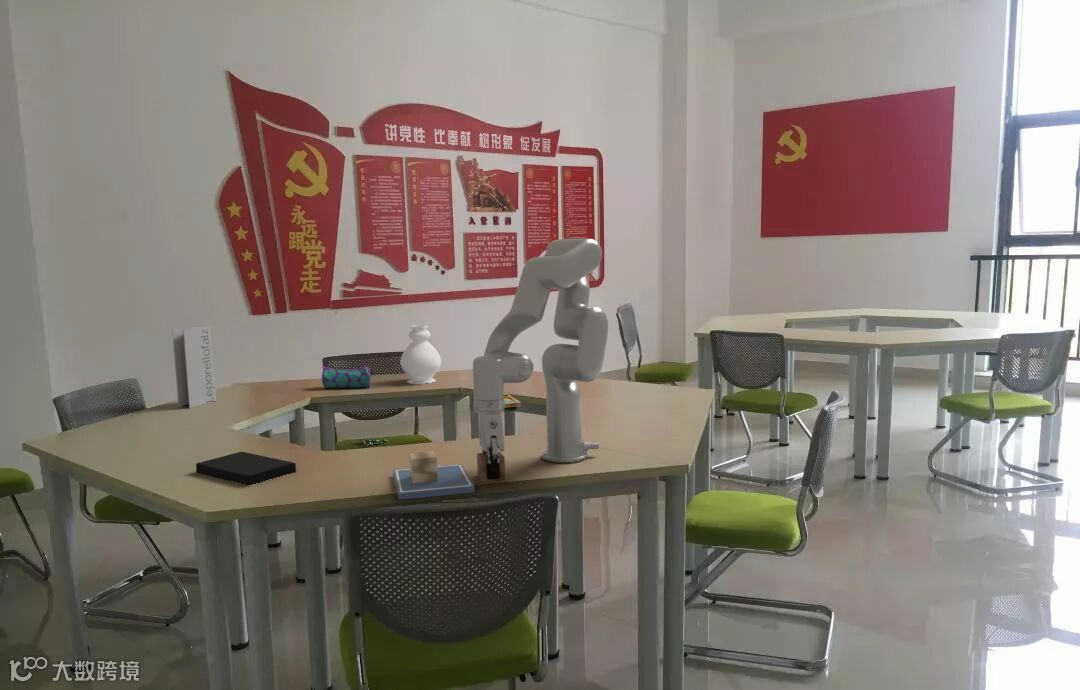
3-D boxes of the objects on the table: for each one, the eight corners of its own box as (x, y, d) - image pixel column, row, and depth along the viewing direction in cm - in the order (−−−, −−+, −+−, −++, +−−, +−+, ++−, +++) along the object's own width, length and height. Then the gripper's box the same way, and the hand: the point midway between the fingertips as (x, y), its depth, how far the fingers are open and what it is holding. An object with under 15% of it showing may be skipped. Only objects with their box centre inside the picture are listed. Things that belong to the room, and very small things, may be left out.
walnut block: (500, 474, 200) (499, 451, 199) (505, 480, 194) (504, 457, 193) (477, 476, 198) (476, 453, 197) (481, 482, 192) (480, 459, 192)
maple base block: (434, 474, 195) (433, 451, 195) (437, 481, 190) (436, 457, 189) (410, 476, 194) (409, 453, 193) (412, 483, 188) (411, 459, 187)
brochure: (189, 408, 294) (183, 330, 291) (178, 407, 296) (172, 330, 292) (216, 401, 308) (210, 326, 304) (205, 400, 310) (199, 326, 306)
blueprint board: (462, 469, 204) (462, 463, 204) (474, 492, 185) (474, 485, 185) (393, 476, 200) (393, 470, 200) (398, 499, 181) (398, 493, 180)
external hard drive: (249, 487, 194) (248, 476, 194) (196, 474, 207) (195, 463, 206) (296, 473, 206) (295, 462, 205) (243, 461, 219) (242, 451, 218)
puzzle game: (505, 390, 293) (521, 400, 274) (505, 402, 293) (521, 413, 274) (475, 393, 289) (489, 402, 270) (475, 405, 289) (489, 416, 271)
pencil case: (373, 385, 337) (372, 363, 335) (370, 389, 328) (368, 366, 327) (325, 386, 336) (324, 365, 335) (320, 390, 327) (319, 368, 326)
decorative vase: (407, 378, 352) (405, 324, 349) (445, 378, 350) (443, 323, 347) (396, 385, 335) (393, 328, 332) (436, 385, 333) (434, 327, 330)
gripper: (510, 411, 186) (512, 483, 188) (497, 398, 203) (499, 464, 205) (480, 413, 184) (482, 486, 187) (468, 400, 201) (471, 467, 203)
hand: (491, 474), depth 196 cm, fingers closed on walnut block, 6 cm apart
